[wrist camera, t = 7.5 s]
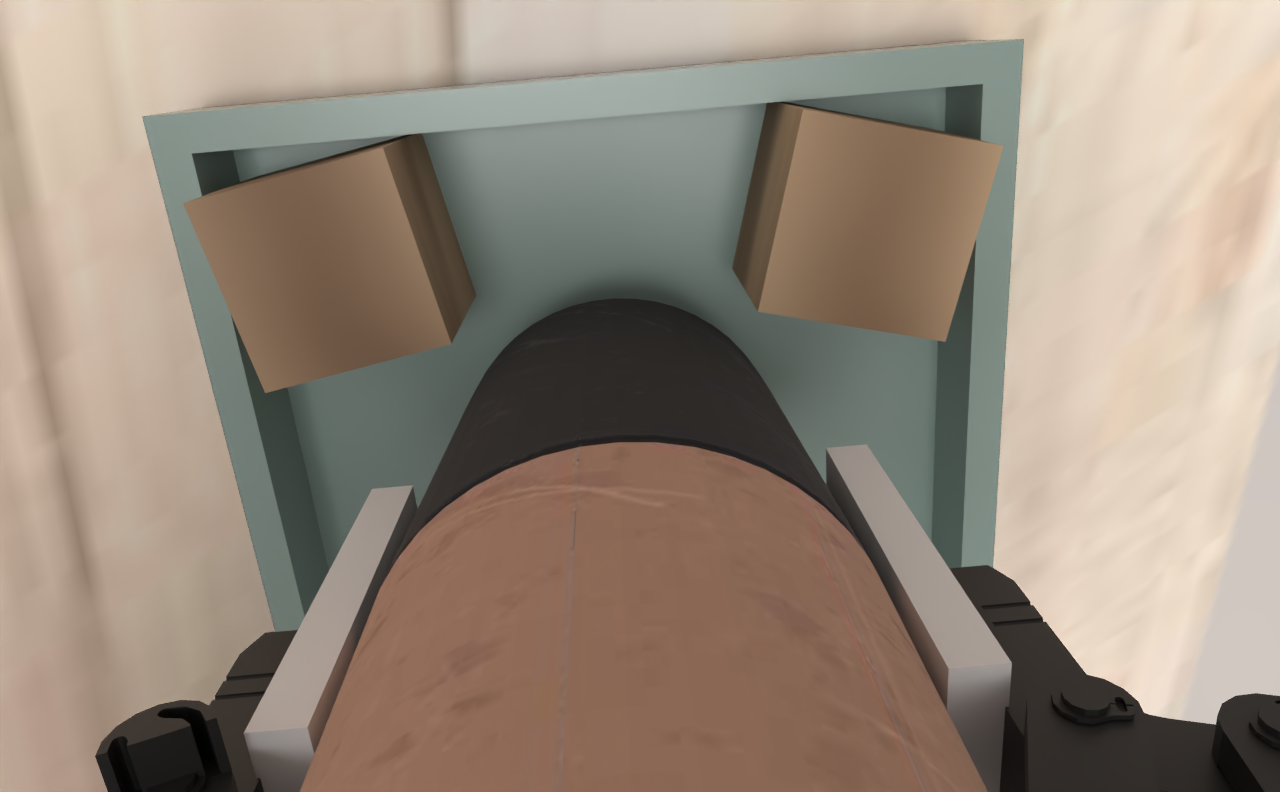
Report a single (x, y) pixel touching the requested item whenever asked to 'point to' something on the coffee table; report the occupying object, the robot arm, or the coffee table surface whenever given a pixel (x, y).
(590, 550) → the travel mug
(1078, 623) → the coffee table surface
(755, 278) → the walnut block
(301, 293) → the walnut block
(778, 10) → the coffee table surface
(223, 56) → the coffee table surface
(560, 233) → the tray
